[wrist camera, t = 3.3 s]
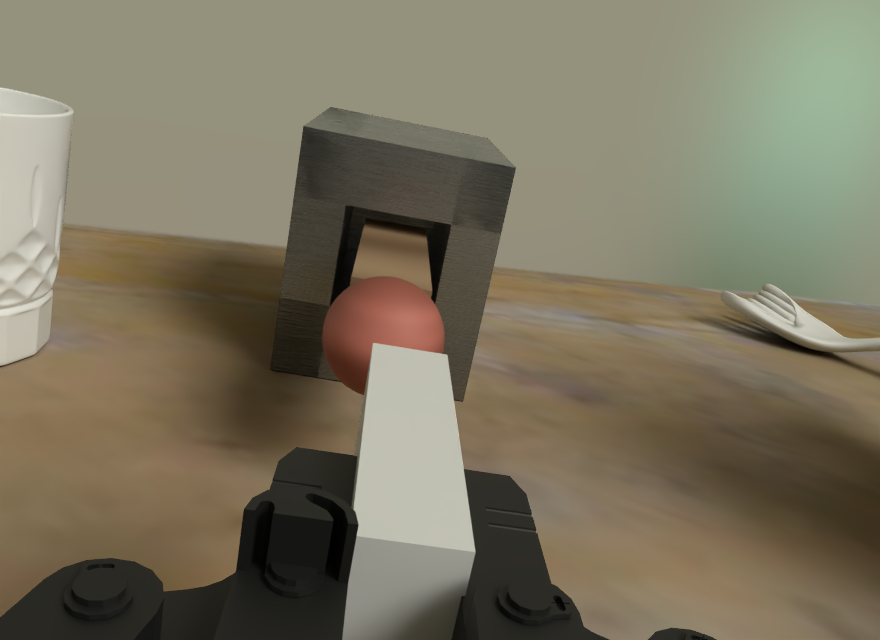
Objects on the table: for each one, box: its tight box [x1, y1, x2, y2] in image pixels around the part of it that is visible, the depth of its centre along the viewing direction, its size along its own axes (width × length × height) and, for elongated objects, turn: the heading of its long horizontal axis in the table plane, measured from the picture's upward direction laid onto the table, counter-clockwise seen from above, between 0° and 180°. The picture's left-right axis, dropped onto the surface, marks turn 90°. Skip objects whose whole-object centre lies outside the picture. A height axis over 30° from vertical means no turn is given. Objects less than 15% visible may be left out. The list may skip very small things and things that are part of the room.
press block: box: [270, 107, 516, 401], centre depth 40 cm, size 12×9×11 cm
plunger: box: [322, 218, 445, 395], centre depth 30 cm, size 14×4×4 cm, turn 2°
